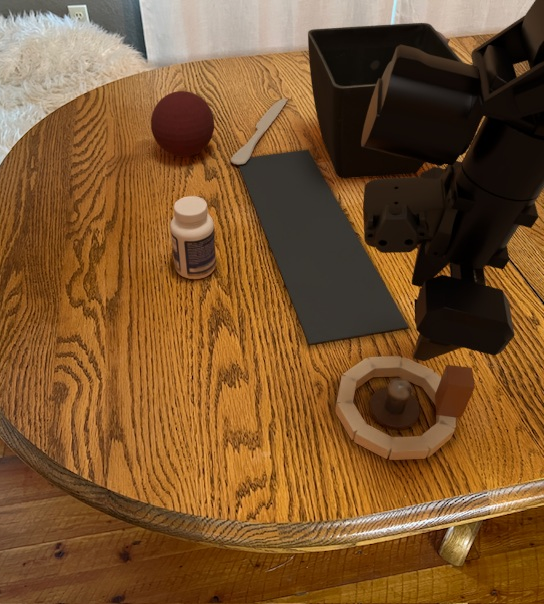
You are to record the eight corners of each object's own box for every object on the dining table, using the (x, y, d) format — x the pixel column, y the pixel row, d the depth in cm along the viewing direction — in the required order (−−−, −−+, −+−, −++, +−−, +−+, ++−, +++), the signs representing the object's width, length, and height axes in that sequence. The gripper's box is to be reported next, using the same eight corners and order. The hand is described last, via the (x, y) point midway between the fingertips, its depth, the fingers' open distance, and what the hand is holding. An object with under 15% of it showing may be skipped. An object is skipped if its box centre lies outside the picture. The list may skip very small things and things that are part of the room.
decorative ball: (213, 169, 95) (211, 110, 88) (150, 169, 95) (143, 110, 88) (216, 136, 102) (214, 79, 95) (158, 136, 102) (151, 79, 95)
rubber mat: (408, 328, 70) (408, 326, 70) (308, 345, 68) (309, 343, 68) (308, 151, 98) (308, 149, 97) (236, 160, 96) (236, 158, 96)
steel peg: (429, 412, 62) (439, 386, 58) (396, 439, 59) (404, 412, 56) (391, 382, 64) (399, 355, 61) (359, 406, 62) (365, 379, 59)
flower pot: (448, 185, 90) (479, 75, 78) (323, 195, 89) (335, 86, 77) (408, 122, 103) (429, 21, 91) (299, 130, 102) (306, 29, 90)
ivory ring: (477, 415, 61) (496, 375, 56) (397, 483, 56) (411, 445, 51) (390, 348, 68) (401, 307, 63) (312, 403, 63) (317, 363, 58)
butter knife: (226, 160, 95) (243, 164, 94) (278, 96, 110) (293, 98, 109) (226, 163, 95) (244, 166, 94) (277, 98, 110) (293, 100, 110)
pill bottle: (223, 260, 79) (221, 199, 72) (203, 285, 76) (199, 223, 69) (188, 248, 81) (182, 187, 74) (167, 272, 78) (159, 211, 71)
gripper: (391, 89, 49) (337, 233, 61) (387, 229, 36) (320, 378, 48) (525, 121, 49) (446, 260, 60) (569, 274, 36) (457, 414, 47)
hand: (417, 319), depth 54 cm, fingers open, 9 cm apart
